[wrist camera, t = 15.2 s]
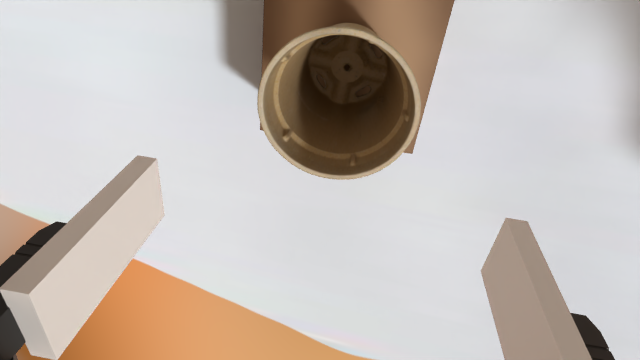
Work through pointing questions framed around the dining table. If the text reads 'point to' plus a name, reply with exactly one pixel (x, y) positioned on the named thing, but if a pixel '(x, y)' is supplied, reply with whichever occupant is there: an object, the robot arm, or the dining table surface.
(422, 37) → the walnut block
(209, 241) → the dining table surface
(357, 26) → the flower pot
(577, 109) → the dining table surface
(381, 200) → the dining table surface
